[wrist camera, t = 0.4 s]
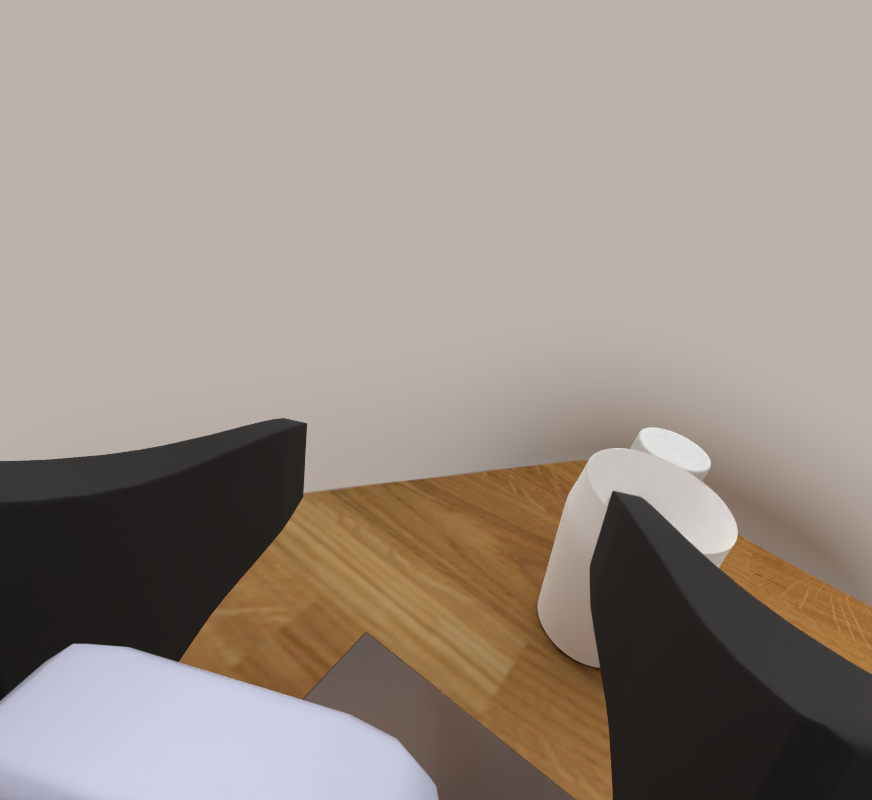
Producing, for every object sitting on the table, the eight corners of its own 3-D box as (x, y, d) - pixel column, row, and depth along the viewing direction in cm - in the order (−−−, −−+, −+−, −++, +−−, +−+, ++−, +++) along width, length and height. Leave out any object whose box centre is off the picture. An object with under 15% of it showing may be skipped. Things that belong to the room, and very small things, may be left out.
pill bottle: (659, 596, 39) (735, 486, 33) (582, 578, 38) (646, 464, 33) (637, 537, 44) (700, 434, 38) (570, 521, 44) (623, 415, 38)
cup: (653, 611, 37) (737, 490, 31) (638, 718, 30) (746, 587, 24) (540, 551, 40) (598, 429, 34) (502, 636, 33) (567, 499, 27)
